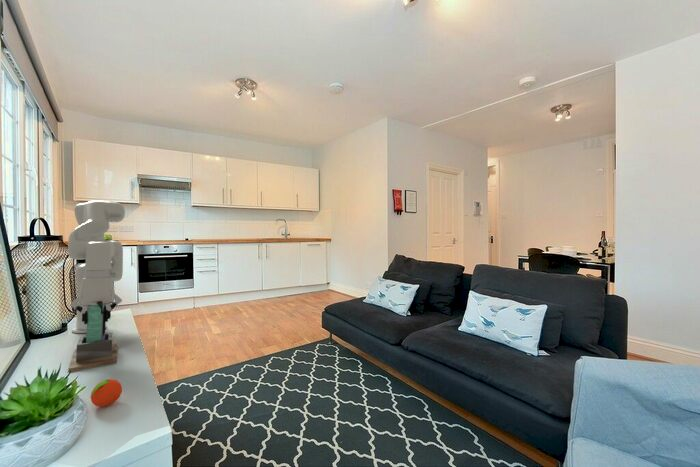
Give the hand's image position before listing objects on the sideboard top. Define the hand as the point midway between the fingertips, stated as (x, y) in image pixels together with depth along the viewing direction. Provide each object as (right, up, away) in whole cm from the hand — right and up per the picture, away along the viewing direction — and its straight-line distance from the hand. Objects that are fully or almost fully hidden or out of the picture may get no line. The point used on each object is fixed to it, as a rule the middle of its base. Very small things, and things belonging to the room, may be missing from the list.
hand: (96, 321), depth 115 cm
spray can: (0, -10, 0) cm, 10 cm away
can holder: (-1, -14, 0) cm, 14 cm away
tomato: (+27, -15, -30) cm, 44 cm away
